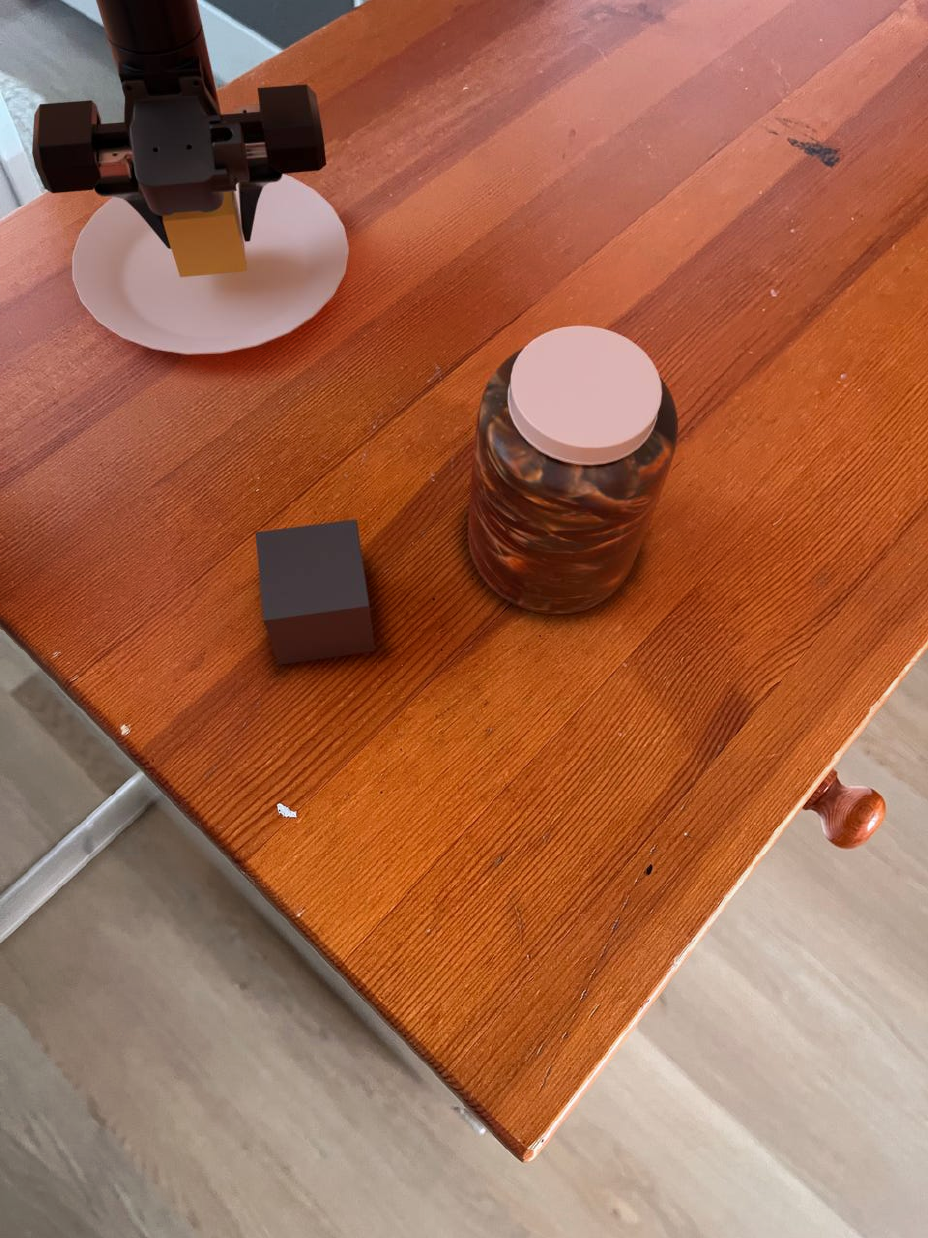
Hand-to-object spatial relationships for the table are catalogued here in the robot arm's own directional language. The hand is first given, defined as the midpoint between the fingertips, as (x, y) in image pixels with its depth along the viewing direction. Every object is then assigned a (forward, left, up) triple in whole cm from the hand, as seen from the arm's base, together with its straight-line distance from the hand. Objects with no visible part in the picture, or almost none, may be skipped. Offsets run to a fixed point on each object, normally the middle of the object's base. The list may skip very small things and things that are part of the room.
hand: (209, 241), depth 68 cm
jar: (+32, -14, -3) cm, 35 cm away
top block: (0, 0, -1) cm, 1 cm away
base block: (+20, -25, -3) cm, 32 cm away
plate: (0, 0, -3) cm, 3 cm away
